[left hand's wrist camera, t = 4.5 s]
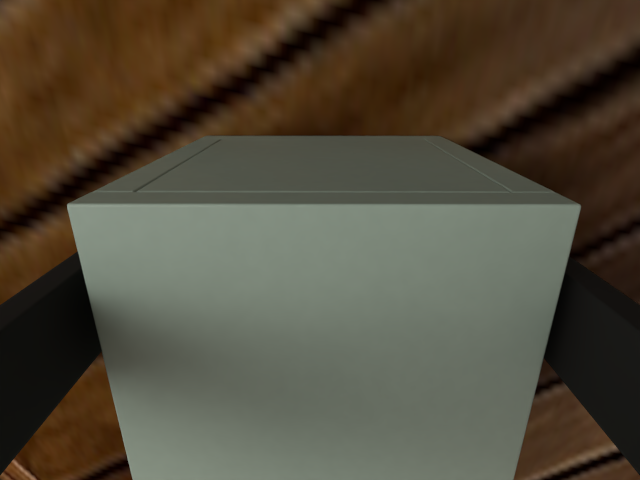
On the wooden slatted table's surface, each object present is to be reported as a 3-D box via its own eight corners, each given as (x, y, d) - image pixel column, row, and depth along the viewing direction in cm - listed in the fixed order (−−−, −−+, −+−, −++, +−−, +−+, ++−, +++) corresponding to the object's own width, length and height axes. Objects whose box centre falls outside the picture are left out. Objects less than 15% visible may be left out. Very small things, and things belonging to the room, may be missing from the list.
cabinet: (408, 437, 27) (465, 675, 16) (235, 436, 27) (178, 673, 17) (440, 135, 20) (583, 204, 9) (204, 135, 20) (65, 204, 9)
